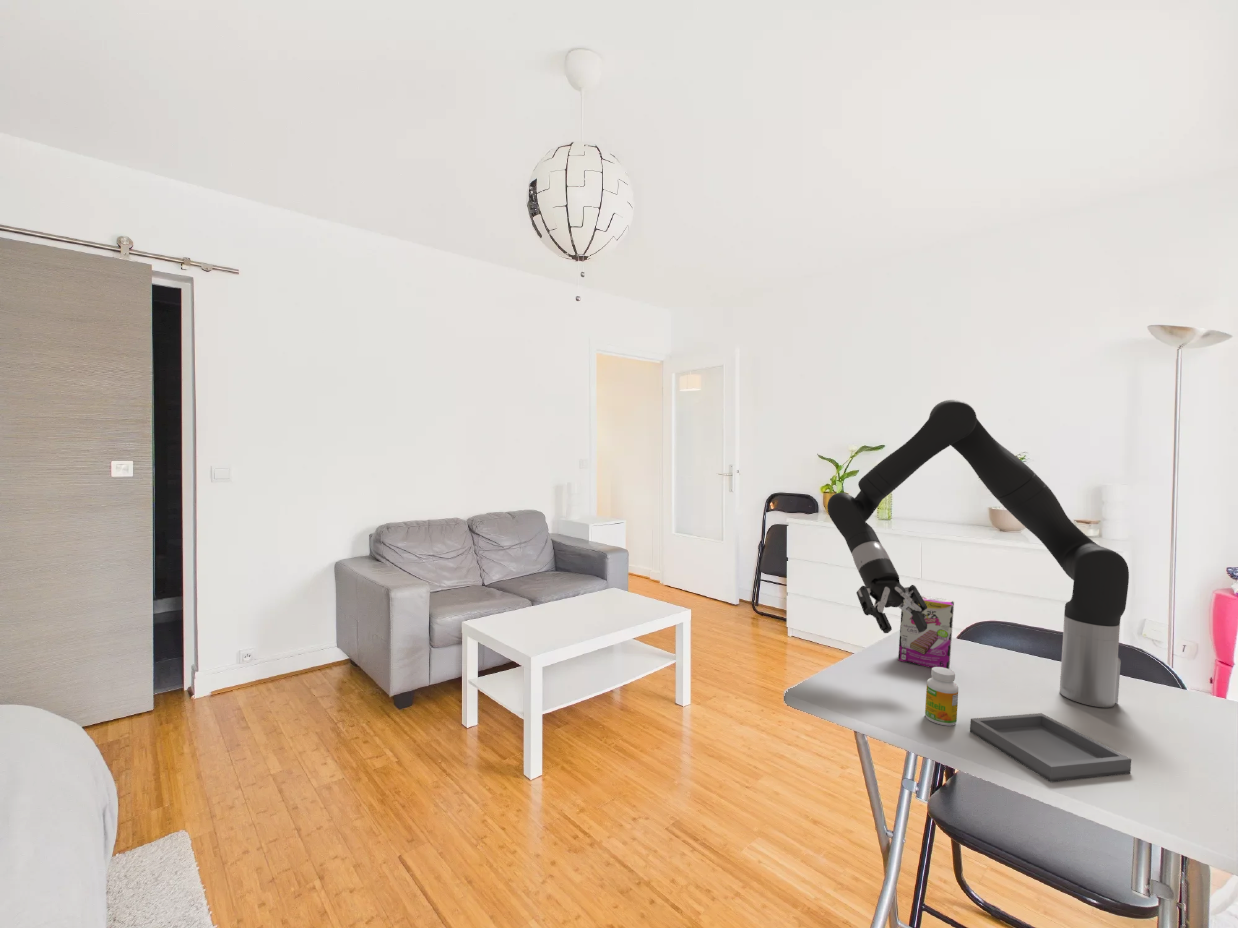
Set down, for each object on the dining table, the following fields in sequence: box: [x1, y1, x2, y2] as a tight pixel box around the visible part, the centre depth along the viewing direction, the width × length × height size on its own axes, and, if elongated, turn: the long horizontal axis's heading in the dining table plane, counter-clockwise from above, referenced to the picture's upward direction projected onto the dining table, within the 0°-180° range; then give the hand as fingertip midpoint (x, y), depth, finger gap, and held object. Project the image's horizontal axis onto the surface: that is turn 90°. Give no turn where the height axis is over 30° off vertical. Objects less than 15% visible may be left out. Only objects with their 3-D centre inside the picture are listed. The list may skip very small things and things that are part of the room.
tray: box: [969, 712, 1132, 783], centre depth 100 cm, size 16×16×2 cm
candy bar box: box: [897, 595, 955, 669], centre depth 139 cm, size 11×5×16 cm, turn 58°
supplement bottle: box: [924, 667, 959, 727], centre depth 111 cm, size 5×5×10 cm
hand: (906, 630), depth 121 cm, fingers open, 8 cm apart
